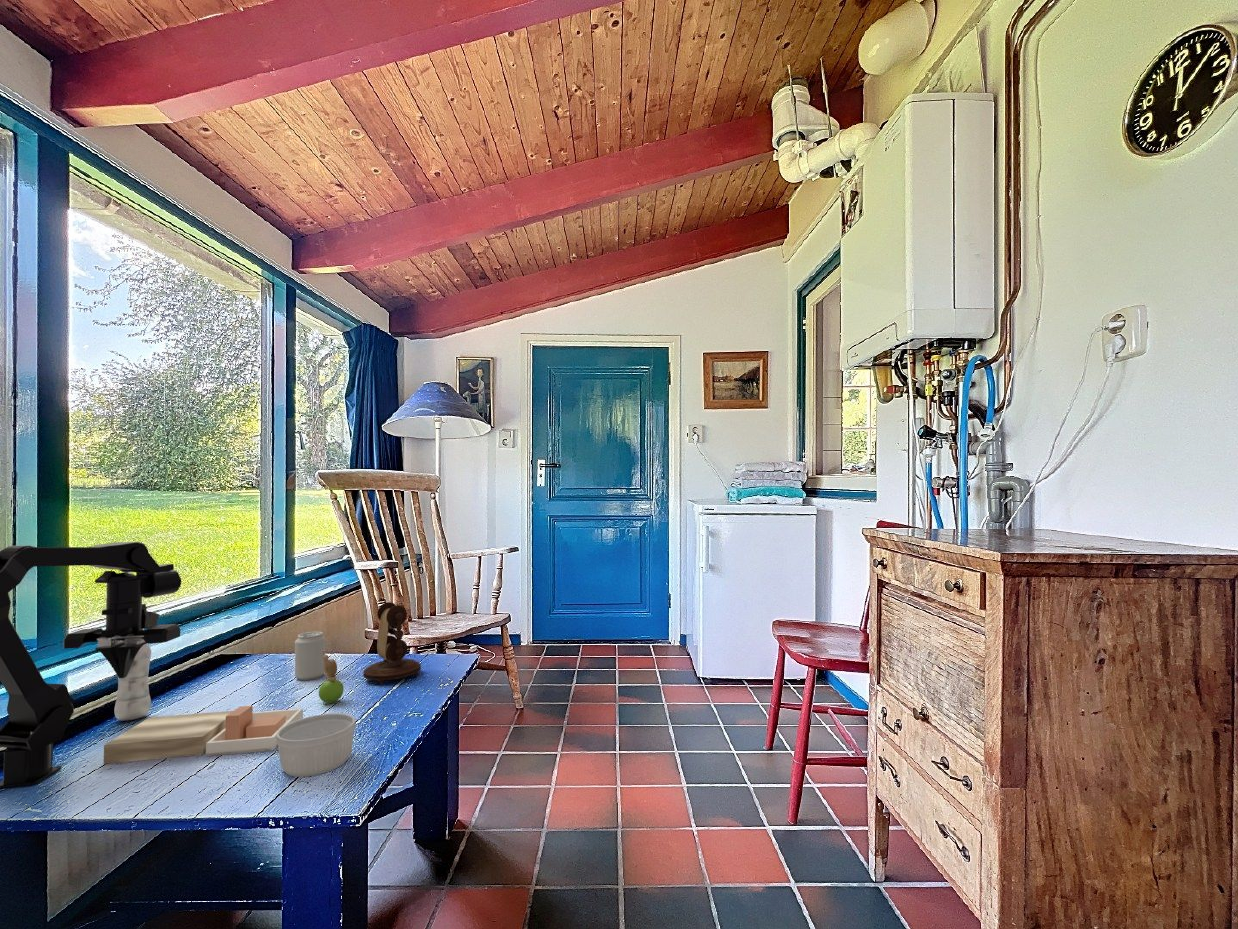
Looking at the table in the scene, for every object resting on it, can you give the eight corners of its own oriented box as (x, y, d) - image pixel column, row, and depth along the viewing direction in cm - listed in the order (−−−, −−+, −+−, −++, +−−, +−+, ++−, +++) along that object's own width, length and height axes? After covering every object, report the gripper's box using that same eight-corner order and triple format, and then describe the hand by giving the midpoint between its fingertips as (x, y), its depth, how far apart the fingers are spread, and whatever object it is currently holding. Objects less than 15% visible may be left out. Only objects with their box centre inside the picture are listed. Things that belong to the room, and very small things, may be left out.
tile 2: (246, 727, 119) (245, 739, 119) (275, 725, 120) (275, 737, 120) (257, 717, 124) (257, 729, 124) (285, 715, 125) (285, 727, 125)
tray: (273, 750, 115) (273, 737, 115) (205, 756, 113) (206, 743, 113) (302, 719, 130) (302, 708, 131) (244, 724, 128) (244, 713, 129)
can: (296, 675, 164) (296, 632, 165) (325, 671, 167) (325, 629, 168) (293, 683, 157) (293, 637, 158) (324, 678, 160) (324, 634, 161)
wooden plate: (202, 754, 113) (203, 736, 114) (103, 763, 111) (104, 744, 111) (236, 726, 127) (237, 710, 127) (149, 734, 124) (149, 717, 125)
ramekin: (258, 779, 103) (258, 739, 103) (307, 747, 116) (307, 711, 116) (327, 782, 101) (327, 742, 102) (369, 749, 114) (369, 713, 115)
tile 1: (225, 744, 117) (238, 743, 117) (225, 716, 117) (239, 715, 118) (239, 733, 122) (252, 732, 123) (239, 706, 123) (252, 705, 123)
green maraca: (335, 696, 146) (335, 647, 146) (347, 701, 142) (347, 651, 142) (312, 702, 142) (313, 652, 142) (324, 708, 138) (324, 656, 138)
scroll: (355, 677, 161) (355, 604, 162) (408, 666, 171) (407, 597, 172) (374, 690, 150) (374, 611, 151) (429, 677, 160) (429, 603, 161)
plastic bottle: (130, 725, 130) (132, 634, 131) (105, 723, 131) (107, 633, 132) (158, 714, 136) (160, 627, 137) (135, 713, 137) (136, 627, 138)
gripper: (194, 593, 132) (193, 663, 131) (100, 598, 129) (99, 669, 128) (165, 602, 121) (164, 678, 120) (62, 607, 118) (60, 686, 117)
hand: (122, 677), depth 121 cm, fingers closed
